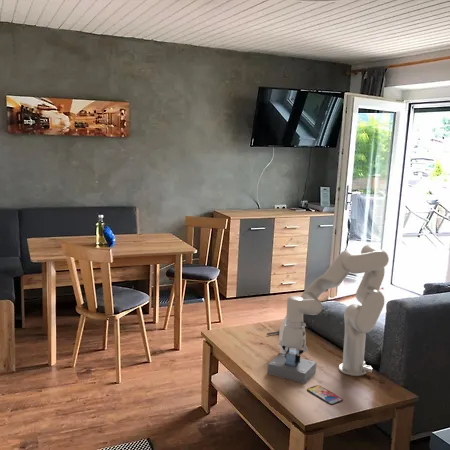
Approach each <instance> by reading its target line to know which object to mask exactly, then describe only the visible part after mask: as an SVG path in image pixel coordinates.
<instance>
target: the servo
mask: <svg viewBox="0 0 450 450" xmlns="http://www.w3.org/2000/svg"><path fill="white" fill-rule="evenodd" d="M296 355H297V352H296V351H294V350H290V351H289V352H288V353H287V354H286V360H285V363H286V365H289V366H293V367H295V366H296V365H297V364H299V362H298V363H297V364H296V363H295V360H296Z"/></svg>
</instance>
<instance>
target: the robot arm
mask: <svg viewBox="0 0 450 450" xmlns="http://www.w3.org/2000/svg"><path fill="white" fill-rule="evenodd" d="M388 263H389V255H388V253H387V252H386V251H384V250H383V249H381V248H379V247H377V246H375V245H373V244H365V245H364V246H363V247H362V248H361V250H360V253H359V254H357V253H355V252H354V251H351V250H343V251H341V252H340V253H339V255H337V257H336V258H335V259H334V261H333V262H332V263H331V264H330V265H329V267H328V268H327V269H326V271H324V273H323V274H322V275H320V276H319V277H317V278H315V279H314V280H313V281H312V282H311V283H310V284H309V285H307V287H306V288H305V290H304V291H303V292H302V294H301V295H300V296H298V295H291V296H288V298H287V301H286V315H285V317H286V324H285V326H284V330H283V336H282V340H281V341H280V343H279V342H278V345H279V347H280V346H281V347H282V348H283V349H284V351H285V353H286V354H287V353H288V352H289V349H290V348H294V349H296V352H297V355H296V360H295V363H296V364H297V363H298V362H299V361H300V358H301V354H303V353H307V352H308V350H309V348H308V346H307V344H306V342H307V341H306V338H307V337H306V328H305V327H306V325H307V324H306V323H305V322H304V315H311V316H315V315H316V316H317V315H319V314H320V313H322V310H323V303H322V302H321V301H320V300H319V297H320V296H321V295H322V294H323V293H324V292H326V291H327V290H328V289H332V288H337V287H339V286H341V284H342V283H343V282H344V280H345V279H346V278H347V276H348V275H350V274H353V275H354V274H355V275H356V274H362V273H364V274H363V276H362V279H361V281H360V283H359V285H358V287H357V289H356V292H355V298H356V300H357V302H359V303H360V304H361V305H360V304H356V303H351V304H349V305H348V306H347V307H346V308H345V311H344V314H343V315H344V316H343V319H344V337H343V351H342V363H340V364H339V365H338V370H339V371H340V372H341V373H342V374H345V375H348V376H351V377H359V376H364V375H365V374H367V372H369V373H373V370H374V369H373V367H372V365H367V364H366V361H365V351H366V337H367V336H366V334H367V333H369V332H371V331H372V330H373V329H374V328H375V325H376V323H377V322H378V320H379V318H380V315H381V313H382V311H383V309H384V307H385V296H384V294H383V293H382V292H381V291H380V288H381V287H382V286H381V285H382V282H383V280H384V277H385V273H386V271H385V267H386V266H387V265H388ZM286 354H285V358H286Z"/></svg>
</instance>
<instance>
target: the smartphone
mask: <svg viewBox="0 0 450 450" xmlns="http://www.w3.org/2000/svg"><path fill="white" fill-rule="evenodd" d="M306 391H307V392H309V393H310V394H312V395H313V396H315V397H316V398H318V399H320V400H321V401H323V402H325V403H326V404H328V405H331V406H333V405H337V404H339V403H342V402H343V398H341V397H340V396H338V395H337V394H335V393H333V392H331V391H330V390H328V389H326V388H325V387H323V386H322V385H320V384H317V385H314V386H310V387H307V389H306Z"/></svg>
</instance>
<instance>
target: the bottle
mask: <svg viewBox="0 0 450 450" xmlns="http://www.w3.org/2000/svg"><path fill="white" fill-rule="evenodd" d="M285 324H286V316H284V319H282V322H281V324H280V328H279V330H280V332H279V333H278V335H279V336H278V340H279V341H278V344H279V343H280V341H281V340H282V336H283V330H284V326H285ZM290 350H294V351H296V349H294V348H290V349H289V351H290ZM279 352H280V353H282V354H286V353H285V351H284V349H283V348H282V347H281V346H280V345H279ZM280 353H279V354H280Z"/></svg>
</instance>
